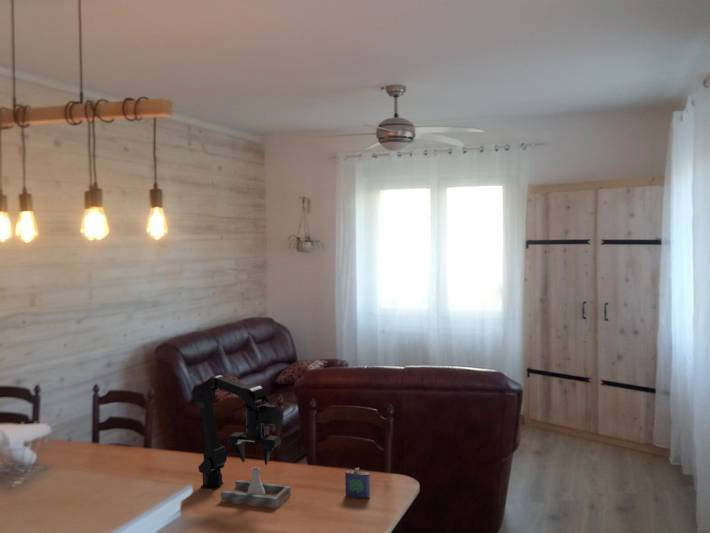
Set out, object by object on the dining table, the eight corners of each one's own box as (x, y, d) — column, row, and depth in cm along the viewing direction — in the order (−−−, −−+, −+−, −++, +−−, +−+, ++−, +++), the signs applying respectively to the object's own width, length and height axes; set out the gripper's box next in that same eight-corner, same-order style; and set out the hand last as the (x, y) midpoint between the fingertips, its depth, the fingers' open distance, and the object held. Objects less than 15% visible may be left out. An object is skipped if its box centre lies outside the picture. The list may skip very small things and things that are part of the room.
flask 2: (370, 496, 232) (370, 467, 231) (368, 499, 229) (368, 470, 229) (346, 494, 235) (346, 465, 234) (344, 497, 232) (343, 468, 231)
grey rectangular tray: (221, 501, 229) (221, 492, 229) (237, 489, 241) (237, 479, 241) (276, 508, 222) (276, 499, 222) (290, 495, 234) (290, 486, 234)
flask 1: (262, 500, 227) (261, 473, 227) (243, 499, 229) (242, 472, 228) (268, 492, 234) (268, 465, 234) (249, 491, 236) (249, 464, 235)
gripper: (286, 417, 236) (287, 458, 237) (242, 413, 242) (243, 453, 243) (273, 425, 225) (274, 468, 226) (227, 421, 231) (228, 463, 232)
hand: (254, 463), depth 232 cm, fingers open, 9 cm apart
